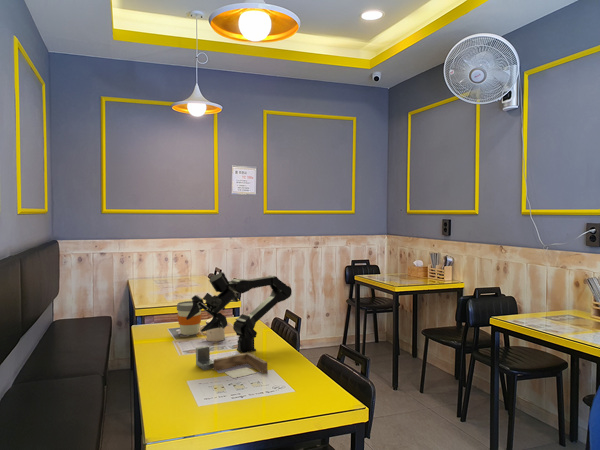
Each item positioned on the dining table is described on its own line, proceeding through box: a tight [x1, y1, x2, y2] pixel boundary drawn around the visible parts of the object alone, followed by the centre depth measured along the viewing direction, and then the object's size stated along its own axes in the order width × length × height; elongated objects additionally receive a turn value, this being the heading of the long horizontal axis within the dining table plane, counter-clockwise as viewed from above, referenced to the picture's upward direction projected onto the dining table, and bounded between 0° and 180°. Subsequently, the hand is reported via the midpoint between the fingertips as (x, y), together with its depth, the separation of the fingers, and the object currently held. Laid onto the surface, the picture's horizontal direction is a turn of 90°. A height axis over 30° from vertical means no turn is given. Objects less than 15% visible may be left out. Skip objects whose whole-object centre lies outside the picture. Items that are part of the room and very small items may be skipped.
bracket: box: [195, 345, 214, 371], centre depth 184 cm, size 8×5×7 cm, turn 35°
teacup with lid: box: [199, 316, 226, 343], centre depth 222 cm, size 12×9×12 cm
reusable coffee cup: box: [176, 300, 202, 336], centre depth 235 cm, size 13×13×15 cm
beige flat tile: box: [223, 366, 257, 379], centre depth 176 cm, size 10×8×1 cm
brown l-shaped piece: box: [213, 352, 269, 375], centre depth 178 cm, size 15×15×4 cm
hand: (193, 325), depth 188 cm, fingers open, 9 cm apart
